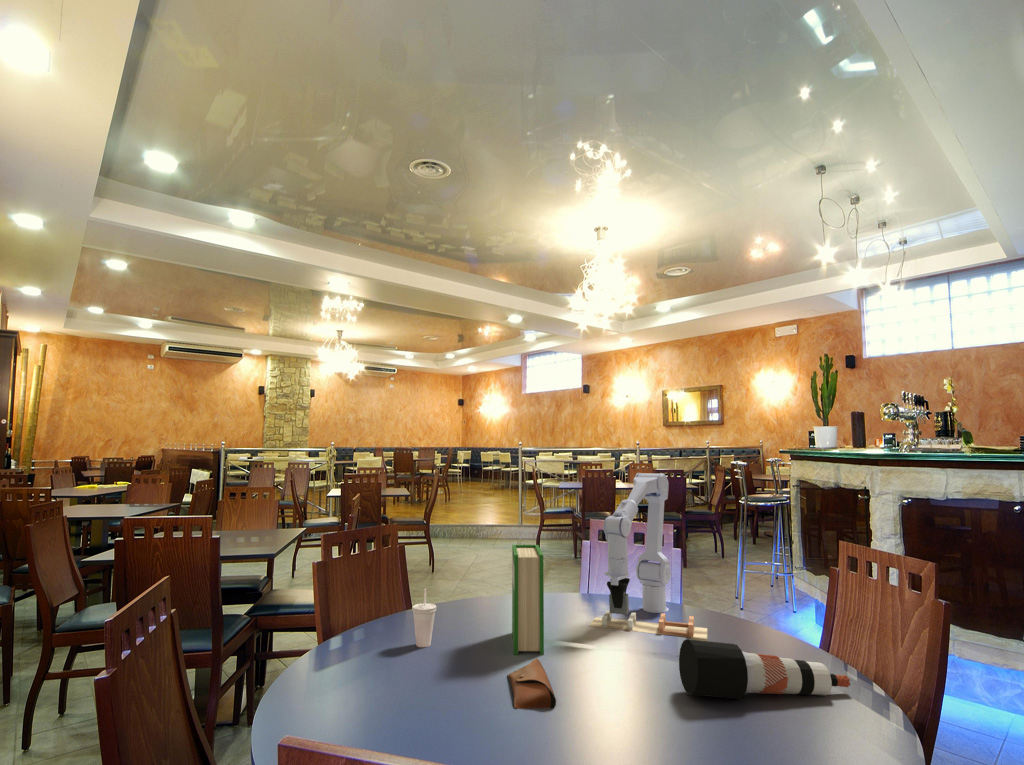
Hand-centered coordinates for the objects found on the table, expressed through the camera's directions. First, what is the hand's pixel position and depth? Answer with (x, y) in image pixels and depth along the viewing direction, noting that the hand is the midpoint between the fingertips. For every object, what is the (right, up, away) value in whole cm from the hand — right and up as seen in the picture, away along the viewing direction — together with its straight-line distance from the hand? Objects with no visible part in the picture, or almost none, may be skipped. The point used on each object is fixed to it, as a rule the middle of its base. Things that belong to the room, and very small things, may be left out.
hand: (619, 606), depth 158 cm
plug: (0, -2, 0) cm, 2 cm away
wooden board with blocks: (+8, -6, -4) cm, 10 cm away
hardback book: (-27, -4, -14) cm, 31 cm away
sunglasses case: (-28, 0, -44) cm, 52 cm away
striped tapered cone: (+22, 0, -46) cm, 51 cm away
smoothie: (-55, -4, -16) cm, 57 cm away
